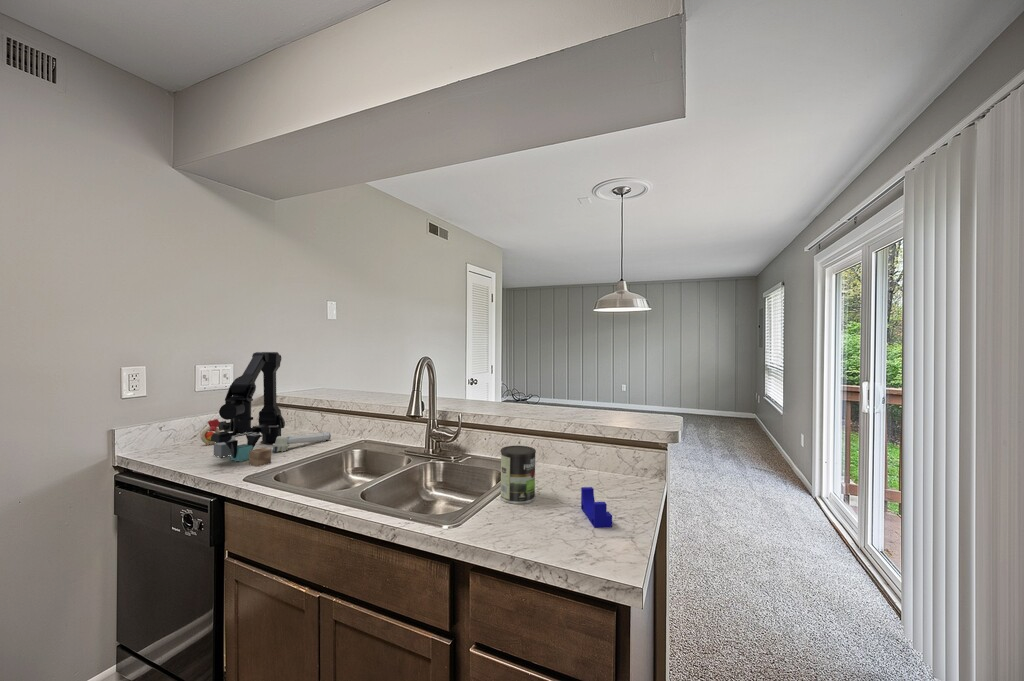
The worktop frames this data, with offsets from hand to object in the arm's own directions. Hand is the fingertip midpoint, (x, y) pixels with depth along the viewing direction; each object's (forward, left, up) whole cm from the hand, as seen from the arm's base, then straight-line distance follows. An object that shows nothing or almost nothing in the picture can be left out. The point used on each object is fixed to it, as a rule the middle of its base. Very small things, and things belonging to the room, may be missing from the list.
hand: (241, 456), depth 157 cm
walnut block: (0, +11, -1) cm, 11 cm away
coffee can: (-15, +108, -2) cm, 109 cm away
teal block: (0, 0, -1) cm, 1 cm away
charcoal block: (0, -11, -1) cm, 11 cm away
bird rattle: (-8, -33, -2) cm, 34 cm away
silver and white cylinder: (-24, +2, -2) cm, 24 cm away
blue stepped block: (-12, +132, -2) cm, 133 cm away
